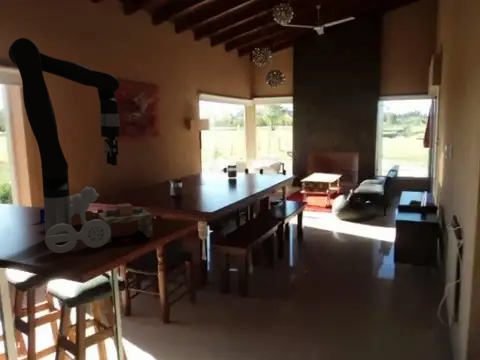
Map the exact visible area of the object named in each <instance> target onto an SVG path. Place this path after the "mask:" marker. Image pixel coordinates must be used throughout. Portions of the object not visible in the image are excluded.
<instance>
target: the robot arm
mask: <svg viewBox="0 0 480 360" xmlns="http://www.w3.org/2000/svg"><path fill="white" fill-rule="evenodd" d="M7 53H8V58H9V59H10V61H11V63H13V64H14V65H15V66H17V69H18V71H19V75H20V78H21V83H22V84H21V85H22V97H23V104H24V109H25V113H26V116H27V120H28V124H29V125H30V128H31V131H32V134H33V136H34V139H35V140H36V143H37V147H38V152H39V156H40V157H39V159H40V163H41V166H40V167H41V178H42V179H41V181H42V194H43V195H42V196H43V207H44V210H45V222H44V229H45V234H46V233H47V231H48V230H49V229H50V228H51V227H52V226H54V225H56V224H61V223H64V224H68V225H70V226H71V225H72V218H71V209H70V196H71V195H70V194H71V193H70V184H69V164H68V162H67V159H66V158H65V155H64V154H65V153H64V151H63V149H62V146H61V144H60V140H59V131H58V125H57V120H56V114H55V111H54V106H53V103H52V100H51V99H52V98H51V96H50V93H49V90H48V87H47V84H46V81H45V78H44V73H48V74H52V75H55V76H57V77H60V78H64V79H66V80H69V81H72V82H74V83H77V84H80V85H83V86H86V87H94V88H97V89H96V90H97V95H98V99H99V103H100V104H99V107H100V109H99V110H100V119H99V120H100V121H99V122H100V124H99V125H100V136H101V137H102V138H105V139H104V141H103V142H104V153H105V155H106V164H107V165H110V166H114V167H115V166H118V165H117V164H118V159H117V157H118V155H119V146H118V142H119V141H118V139H116V138H119V137H121V126H120V117H119V115H120V114H119V103H118V100H117V99H116V95H115V93H116V92H117V91H118V90H119V88H120V81H119V79H118V78H117V77H116V76H115V75H113V74H110V73H107V72H103V71H100V70H99V71H98V70H96V69H92V68H90V67H88V66H85V65H83V64H80V63H77V62H74V61H70V60H66V59H65V60H64V59H60V58H56V57H53V56H50V55H48V54H45V53H43V52H41V51H40V49H39V47H38V45H37V44H36V43H35V42H34V41H33V40H31V39H29V38H27V37H26V38H25V37H19V38H17V39H15V40H14V41H13V42H12V43H11V45H10V46H9V49H8V52H7ZM43 72H44V73H43ZM60 234H68V232H67V231H59V232H57V233H56V234H55V235H60ZM49 236H53V235H49Z"/></svg>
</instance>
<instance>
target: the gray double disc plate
mask: <svg viewBox="0 0 480 360" xmlns="http://www.w3.org/2000/svg"><path fill="white" fill-rule="evenodd" d="M99 227H100V228H99ZM102 229H103V231H101V230H102ZM59 231H67V232H68V234H60V235H55V234H56V233H57V232H59ZM102 234H103V235H102ZM49 235H53V236H49ZM101 235H102V236H101ZM110 236H111V237H112V228H111V229H110V227H109V225H108V224H107V223H105V222H104V221H102V220H99V218H97V219H96V218H95V219H90V220H87V222H86V223H85V224H84V225H82V226H81V228H80V231H77V230H76V229H75V228H74V227H73V225H72V226H70V225H68V224H64V223H61V224H56V225H54V226H52V227H51V228H50V229H49V230H48V231H47V233H46V232H45V236H44V242H45V245H46V247H47V248H48V249H49V250H50V251H51V252H54V253H56V254H63V253H68V252H70V251H71V250H73V249H74V247H75V246H76V245H77V244H78V240H80V241H82V243H83V244H84V245H86V246H87V247H90V248H100V247H102V246H104V245H106V244H108V243H107V242H108V240H109V238H110ZM64 242H66V243H64ZM57 243H64V244H61V245H60V244H59V245H58V244H57Z"/></svg>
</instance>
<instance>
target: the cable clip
mask: <svg viewBox="0 0 480 360" xmlns="http://www.w3.org/2000/svg"><path fill="white" fill-rule="evenodd" d="M39 212H40V213H39V217H40V223H45V220H43V219H45V210H44V209H43V208H42V209H39Z"/></svg>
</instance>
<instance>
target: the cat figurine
mask: <svg viewBox="0 0 480 360" xmlns="http://www.w3.org/2000/svg"><path fill="white" fill-rule="evenodd" d="M98 197H101V195H99V193H98V192H97V191H96V189H95V188H94V187H91V186H85V187H84V188H83V189H81V190H80V192H79V193H75V194H72V195H70V209H71V219H72V218H73V216H75V214H76V215H79V218H80V221H81V225H82V226H83V225H84V224H85V223H86V222H88V220H86V213H87V211H88V209H89V207H90V205H91V204H92V203H94V202H96V201H97V199H98ZM43 220H45V219H43ZM71 226H72V227H73V225H72V224H71Z"/></svg>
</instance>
